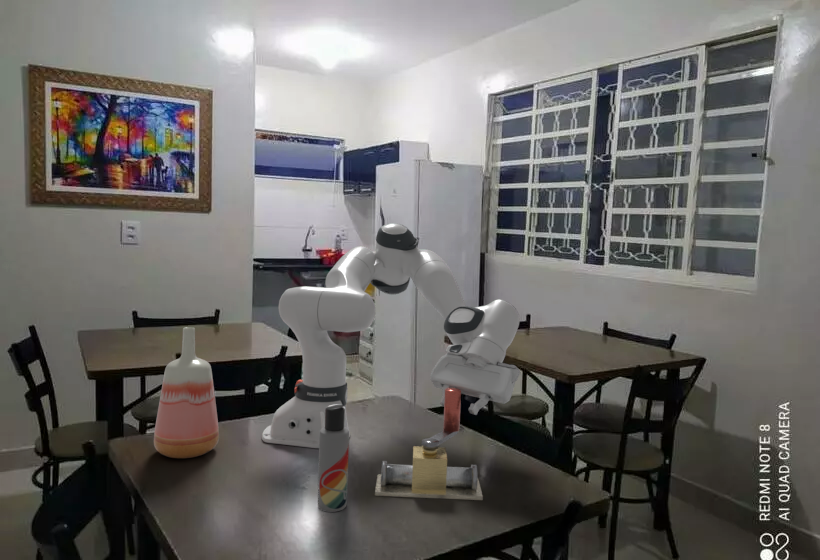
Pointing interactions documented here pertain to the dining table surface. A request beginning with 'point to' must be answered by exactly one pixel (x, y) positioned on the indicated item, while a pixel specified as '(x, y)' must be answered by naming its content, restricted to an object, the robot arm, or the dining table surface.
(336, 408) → the lotion bottle
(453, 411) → the lever
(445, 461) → the pipe valve
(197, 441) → the vase
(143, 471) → the dining table surface
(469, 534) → the dining table surface
